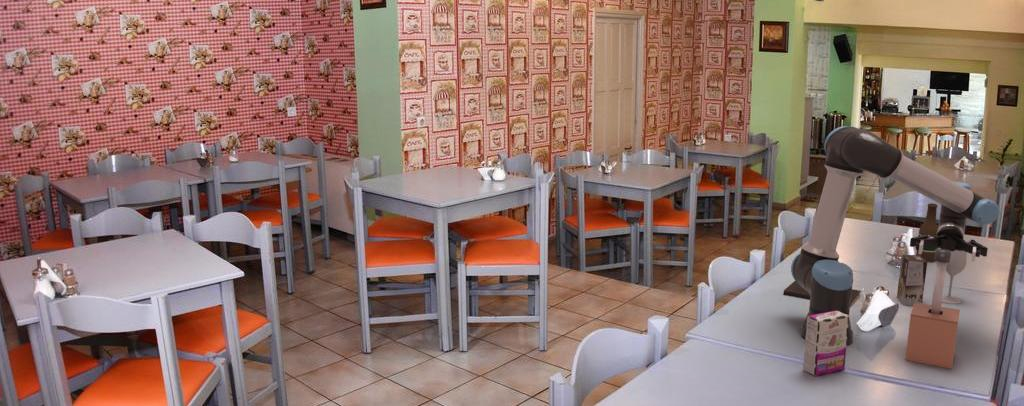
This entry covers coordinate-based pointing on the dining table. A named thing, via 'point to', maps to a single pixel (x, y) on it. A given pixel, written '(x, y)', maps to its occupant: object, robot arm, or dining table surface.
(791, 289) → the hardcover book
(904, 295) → the coffee box
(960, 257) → the wineglass
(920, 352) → the slotted cardboard box
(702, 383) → the dining table surface
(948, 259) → the pump plunger
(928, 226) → the beer bottle
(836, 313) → the candy bar box
